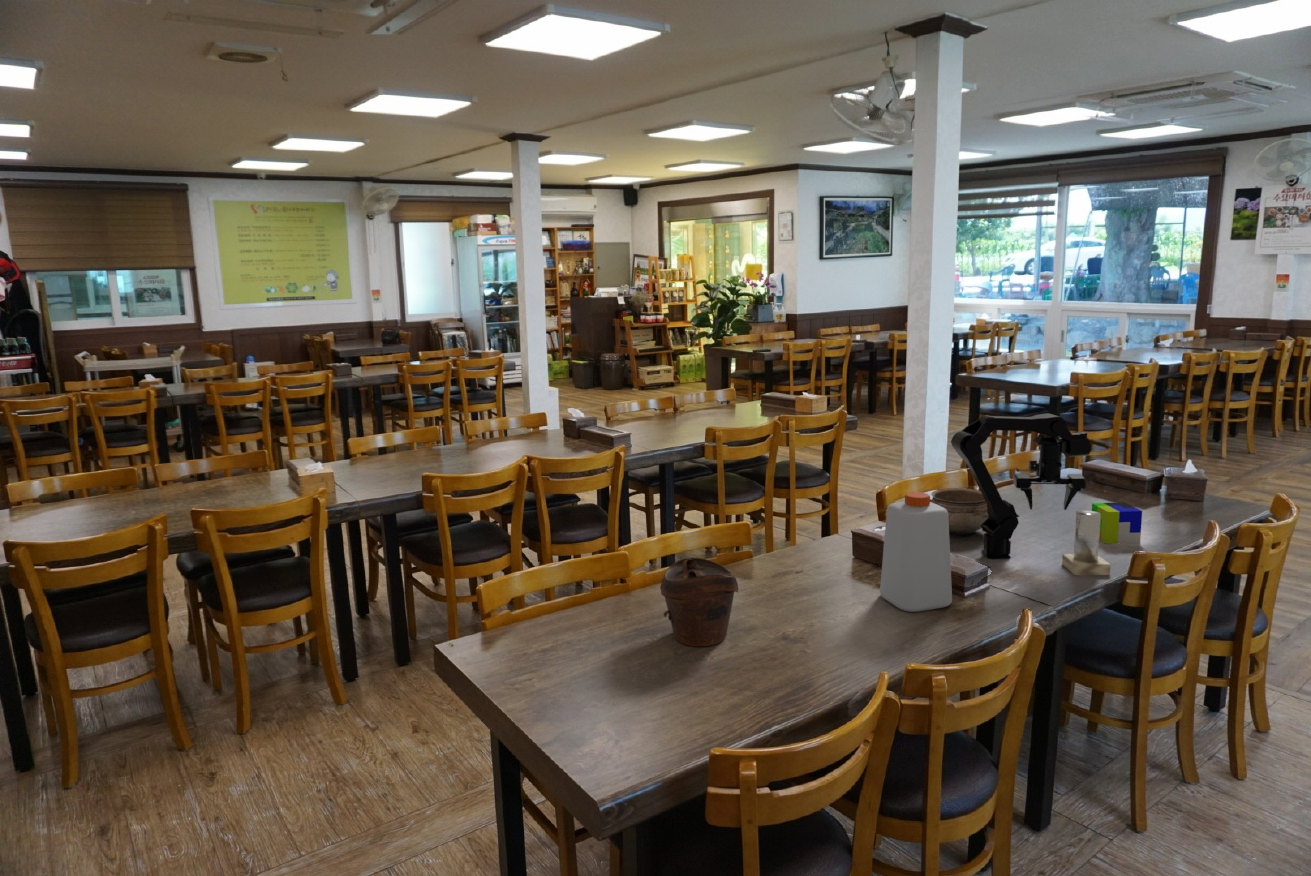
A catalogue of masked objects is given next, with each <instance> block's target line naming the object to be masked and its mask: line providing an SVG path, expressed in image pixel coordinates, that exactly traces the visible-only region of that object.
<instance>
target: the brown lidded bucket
mask: <svg viewBox="0 0 1311 876" xmlns="http://www.w3.org/2000/svg"><path fill="white" fill-rule="evenodd" d="M659 587H660V593H661V596H663V597H664V599H665V600H664V601H665V604H666V607H667V610H666V611H665V612H664V613H663V616H664V617H665V618H667V619H668V620H669V621H670V625H671V628H672V632H673V633H672V634H673V636H674V639H676V641H677V642H680V643H682V644H683V645H687V646H691V647H707V646H713V645H717V644H719V643H721V642H722V641H724V640H725V639H726V637H727V635H728V628H729V623H730V617H731V612H732V608H733V603H734V602H733V601H734V596H735V592H736V593H739V590H740V589H739V585H738V582H737V577H736V575H734V574H733V572H732V571H729V570H728V569H727V568H726V567H725V566H723V565H721V564H719V563H717V562H716V561H712V560H710V559H707V558H703V557H702V558H701V557H693V556H692V557H688V558H682V559H680V560H678V561H675V562H674V563H672V564H671V565H669V567H668V568H667V569H666V571H665V572H664V574H663V576H662V579H661V583H660V586H659Z"/></svg>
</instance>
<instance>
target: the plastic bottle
mask: <svg viewBox="0 0 1311 876" xmlns="http://www.w3.org/2000/svg"><path fill="white" fill-rule="evenodd" d="M930 499H931V496H930V495H929V493H925V492H921V491H915V492H914V491H913V492H911V491H910V492H908V493H905V495H904V501H898V502H892V503H890V504H889V505H888V506H887V508H886V517H885V518H886V519H885V529H884V541H883V551H882V565H881V572H880V573H881V576H880V585H879V587H880V588H879V594H880V597H882V599H884V600H886V601H887V602H888V603H890V604H891V605H893V606H895V607H896V608H898V609H899V610H901V611H905V612H908V613H909V612H910V613H914V612H915V613H917V612H918V613H919V612H924V611H930V610H937V609H943V608H947V607H949V606H950V605H951V604H952V602H953V592H952V591H953V589H952V569H951V567H952V566H951V546H950V544H951V543H950V533H949V521H948V512H947V510H946V509H945V508H943V507H941V506H939V505H937V504H934V503H932V502H930Z"/></svg>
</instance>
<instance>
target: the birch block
mask: <svg viewBox="0 0 1311 876" xmlns="http://www.w3.org/2000/svg"><path fill="white" fill-rule="evenodd" d="M1061 556H1062V558H1061V560H1062V561H1061V565H1062V566H1063V567H1064V568H1066V569H1067V570H1068V571H1070V573H1072V574H1073V575H1074V576H1110V574H1111V564H1110V562H1108V561H1107V560H1105V559H1104V558H1102V557H1101V556H1100V555H1098V561H1097V562H1093V563H1087V562H1080V561H1077V560H1075V559H1074V553H1062V555H1061Z"/></svg>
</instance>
